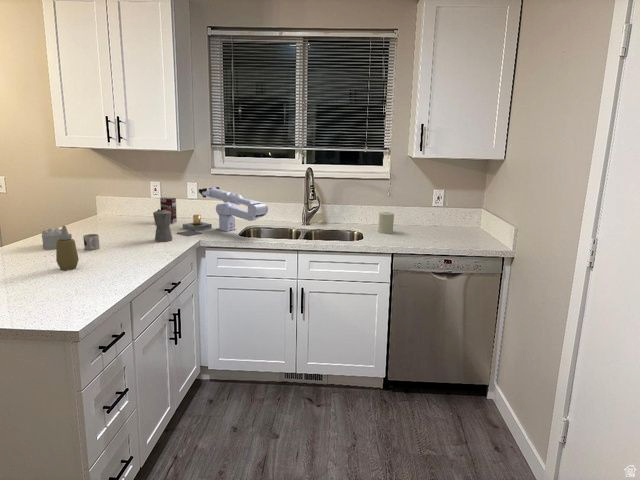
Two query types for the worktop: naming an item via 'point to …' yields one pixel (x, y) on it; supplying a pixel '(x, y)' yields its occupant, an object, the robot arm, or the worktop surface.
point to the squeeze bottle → (66, 251)
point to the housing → (197, 226)
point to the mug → (91, 242)
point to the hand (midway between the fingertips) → (204, 190)
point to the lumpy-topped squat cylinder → (50, 238)
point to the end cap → (196, 219)
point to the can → (386, 222)
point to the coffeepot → (162, 225)
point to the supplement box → (169, 207)
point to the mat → (189, 233)
